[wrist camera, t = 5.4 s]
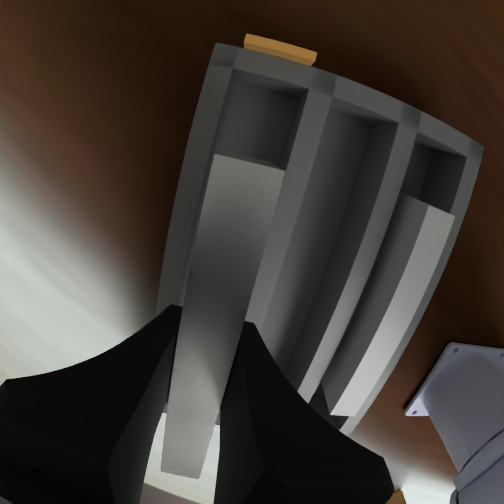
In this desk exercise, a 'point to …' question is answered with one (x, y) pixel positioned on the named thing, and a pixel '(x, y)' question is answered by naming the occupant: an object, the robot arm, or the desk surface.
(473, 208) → the desk surface
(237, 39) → the desk surface
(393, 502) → the small box
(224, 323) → the panel
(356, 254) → the rack
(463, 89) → the desk surface
